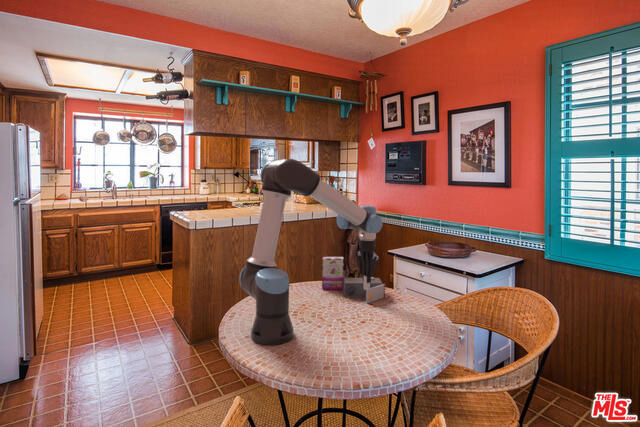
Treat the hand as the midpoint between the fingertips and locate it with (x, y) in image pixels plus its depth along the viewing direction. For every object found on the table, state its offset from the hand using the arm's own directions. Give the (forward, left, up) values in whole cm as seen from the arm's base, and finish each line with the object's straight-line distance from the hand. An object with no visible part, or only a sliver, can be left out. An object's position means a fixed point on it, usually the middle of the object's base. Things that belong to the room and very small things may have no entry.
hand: (366, 288), depth 167 cm
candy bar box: (-15, +18, -6) cm, 24 cm away
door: (+5, -1, -5) cm, 7 cm away
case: (-1, +9, -5) cm, 10 cm away
